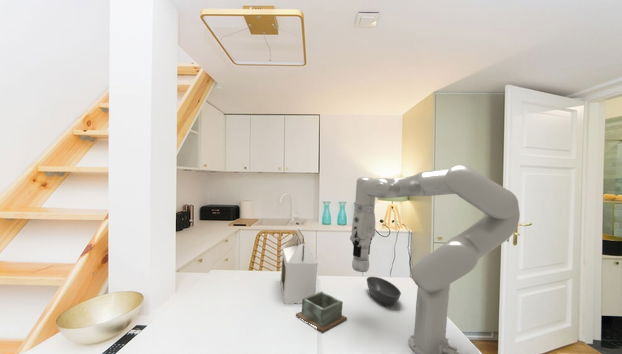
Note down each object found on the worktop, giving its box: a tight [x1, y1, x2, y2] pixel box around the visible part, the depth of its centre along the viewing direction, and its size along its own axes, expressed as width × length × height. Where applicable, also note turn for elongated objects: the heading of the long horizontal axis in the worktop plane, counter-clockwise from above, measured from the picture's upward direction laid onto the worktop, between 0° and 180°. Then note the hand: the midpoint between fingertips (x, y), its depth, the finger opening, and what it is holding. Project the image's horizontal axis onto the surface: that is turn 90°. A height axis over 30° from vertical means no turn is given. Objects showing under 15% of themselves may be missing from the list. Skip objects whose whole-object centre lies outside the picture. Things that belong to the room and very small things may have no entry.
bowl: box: [366, 276, 402, 308], centre depth 123 cm, size 12×22×6 cm, turn 14°
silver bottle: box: [351, 233, 371, 273], centre depth 104 cm, size 6×7×20 cm
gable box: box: [280, 229, 319, 305], centre depth 124 cm, size 22×13×28 cm, turn 11°
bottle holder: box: [295, 291, 348, 334], centre depth 103 cm, size 14×14×7 cm
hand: (361, 254), depth 104 cm, fingers closed on silver bottle, 5 cm apart
